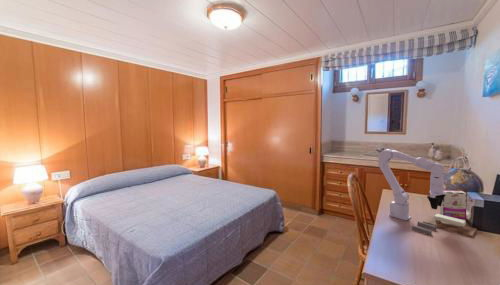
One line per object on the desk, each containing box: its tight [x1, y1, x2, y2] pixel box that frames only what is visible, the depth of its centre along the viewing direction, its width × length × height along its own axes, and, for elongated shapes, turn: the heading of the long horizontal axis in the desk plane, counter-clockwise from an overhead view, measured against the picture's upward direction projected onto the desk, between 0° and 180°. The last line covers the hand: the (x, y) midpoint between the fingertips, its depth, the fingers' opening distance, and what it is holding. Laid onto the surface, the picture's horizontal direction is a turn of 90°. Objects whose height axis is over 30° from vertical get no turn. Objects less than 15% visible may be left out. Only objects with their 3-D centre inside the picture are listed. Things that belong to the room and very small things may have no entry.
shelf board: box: [433, 213, 467, 227], centre depth 116 cm, size 12×5×2 cm, turn 34°
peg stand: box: [422, 216, 478, 238], centre depth 116 cm, size 20×11×3 cm, turn 34°
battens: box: [411, 221, 437, 236], centre depth 114 cm, size 8×10×2 cm
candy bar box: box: [439, 189, 468, 221], centre depth 127 cm, size 11×5×16 cm, turn 68°
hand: (436, 207), depth 119 cm, fingers open, 7 cm apart
